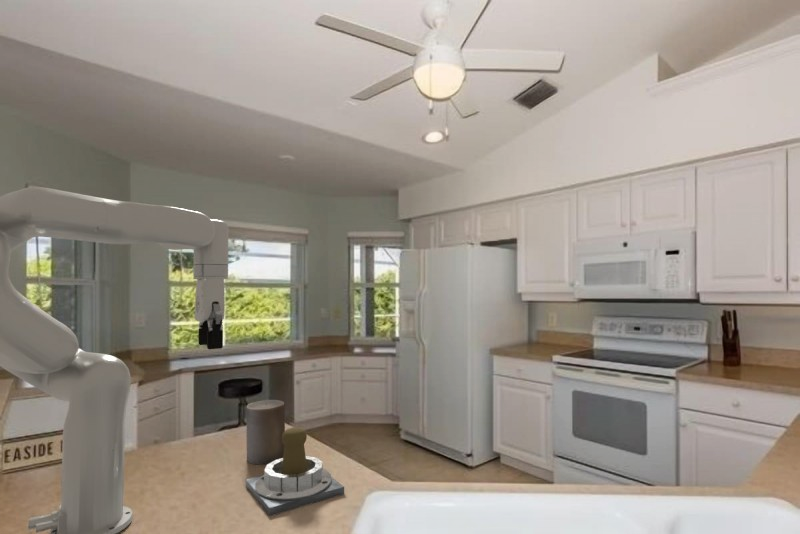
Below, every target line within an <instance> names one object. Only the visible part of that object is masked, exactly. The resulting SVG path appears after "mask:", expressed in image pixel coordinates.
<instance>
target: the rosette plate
mask: <svg viewBox="0 0 800 534" xmlns="http://www.w3.org/2000/svg"><path fill="white" fill-rule="evenodd" d="M305 456H306V463H307V471H308V472H304V473H300V474H291V475H284V474H281V471H282V463H283V458H281V459H278V460H275V461H273V462H271V463H268V464H266V466H265V468H264V472H263V473H264V474H262V475H259V476H255V477H249V478H247V479H245V487H246V488H247V490H249V492H250V494H251V495H252V496H253V497H254V498H255V499H256V502H258V504H259V505H260V506H261V507H262V508H263V510H264V511H265V512H266V514H267V515H268V517H271V516H274V515H277V514H281V513H285V512H288V511H291V510H292V511H293V510H295V509H298V508H301V507H304V506H308V505H311V504H314V503H319V502H322V501H325V500H329V499H333V498H335V497H338V496H341V495H345V485H343V484H341V483H340V482H339V481H338V480H336V479H335V478H333V477H332V474H331V473H330V472H329V471H328V470H327V469H324V467H323V461H322V460H321V459H319V458H318V457H315V456H309V455H305Z"/></svg>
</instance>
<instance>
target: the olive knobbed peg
mask: <svg viewBox="0 0 800 534" xmlns="http://www.w3.org/2000/svg"><path fill="white" fill-rule="evenodd" d="M307 435H308V434H307V431H306V430H305V429H304V428H302V427H290V428H287V429H285V431H284V433H283V435H282V441H283V444H284V445H285V447H284V455H283V463H282V471H281V474H284V475H291V474H300V473H304V472H308V471H307V463H306V456H307V455H306V449H305V443H306V441H307V438H308V437H307Z"/></svg>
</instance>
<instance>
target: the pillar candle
mask: <svg viewBox="0 0 800 534" xmlns="http://www.w3.org/2000/svg"><path fill="white" fill-rule="evenodd" d="M245 408H246V409H245V410H246V461H247V462H248V463H250V464H253V465H268V464H269V463H271V462H273V461H275V460H278V459H281V458H283V455H284V447H285V445H284V444H283V441H282V435H283V433H284V431H285V430H286V422H285V421H286V417H285V415H286V414H285V413H286V411H285V408H286V407H285V402H284V401H283V400H278V399H267V398H266V399H265V400H258V401H254V402H251V403H248V404H246V406H245Z"/></svg>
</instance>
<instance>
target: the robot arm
mask: <svg viewBox="0 0 800 534" xmlns="http://www.w3.org/2000/svg"><path fill="white" fill-rule="evenodd" d="M39 237H41V238H53V239H62V240H72V241H81V242H90V243H98V244H105V245H106V244H107V245H131V244H145V243H146V244H147V243H148V244H149V243H151V244H152V243H153V244H158V245H160V246H161V247H163V248H165V249H168V250H171V251H172V250H173V251H179V250H193V275H192V276H193V278H192V279H193V280H196V286H195V299H194V300H195V302H194V317H193V318H194V320H195V321H197V322H198V345H199V346H206V349H207V350H217V349H220V350H221V349H223V346H224V345H223V344H224V326H223V320H224V319H225V313H226V311H225V305H226V302H225V301H226V299H225V280H228V279H229V226H228V224H227V222H226V221H223V220H218V219H211V218H210V217H209V216H208V215H206V214H204V213H202V212H200V211H196V210H195V211H194V210H190V209H185V208H179V207H175V206H168V205H158V204H148V203H140V202H134V201H123V200H115V199H109V198H105V197H104V198H103V197H99V196H98V197H97V196H94V195H93V196H92V195H86V194H84V193H82V194H81V193H78V192H71V191H66V190H60V189H55V188H50V187H41V186H30V187H25V188H22V189H21V188H20V189H19V190H14V191H11V192H8V193H5V194H4V195H1V196H0V367H1V368H2V369H4V370H5V371H7V372H9V373H10V374H12V375H14V376H15V377H17V378H18V379H21V380H22V381H24V382H25V383H27V384H29V385H31V386H33V387H34V388H36V389H38V390H39V391H41V392H44V393H45V394H47V395H48V396H51V397H53V398H54V399H56V400H61V401H64V402H67V403H68V408H67V412H66V417H65V420H64V423H63V429H62V444H61V446H62V455H61V456H62V457H61V458H62V459H61V491H60V492H61V495H60V501H61V502H60V504H59V507H58V509H57V510H52V512H51V513H48V514H44V515H38V516H34V517H33V516H32V517H29V519H28V524H27V525H28V527H27V528H28V529H27V530H28V531H31V530H35V533H36V534H38V533H40V532H45V531H48V530H50V531H49V534H118V533H119V532H121V531H123V530H124V529H125V528H127V527H128V526H129V525H130V523H131V522H132V521H133V516H134V512H133V510H132V509H131V508H130V507H128V506H125V505H124V498H125V497H124V495H125V494H124V491H125V490H124V489H125V483H124V482H125V445H126V443H125V438H126V436H125V435H126V434H125V433H126V432H125V431H126V429H125V428H126V411H127V405H128V400H129V397H130V396H129V395H130V391H131V384H132V378H131V377H132V376H131V373H130V369H129V367H128V365H126V363H125V362H124V361H123V360H122V359H120V358H118V357H116V356H114V355H111V354H106V353H98V352H89V351H85V350H83V349H82V348H80V347H79V346H80V345H79V340H78V338H77V335H76V333H74V332H73V330H72V329H70V328H69V327H68V326H67V325H65V324H64V323H63V322H61V321H59V320H58V319H56V318H55V317H53V316H52V315H50V314H48V312H46V311H45V310H43V309H42V308H40V307H38V306H37V305H36V304H35V303H33V302H31V301H30V300H29V299H28V298H26V296H24V295H23V294H22V293H21V292H19V291H18V290H17V289H16V288H15V287H14V285H13V283H12V281H11V278H10V276H9V267H10V266H9V265H10V261H11V256H12V255H11V254H12V252H13V251H14V250H16V249H17V248H19V247H20V246H22V245H24V244H25V243H27V242H28V241H29V240H32V239H33V238H39Z"/></svg>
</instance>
